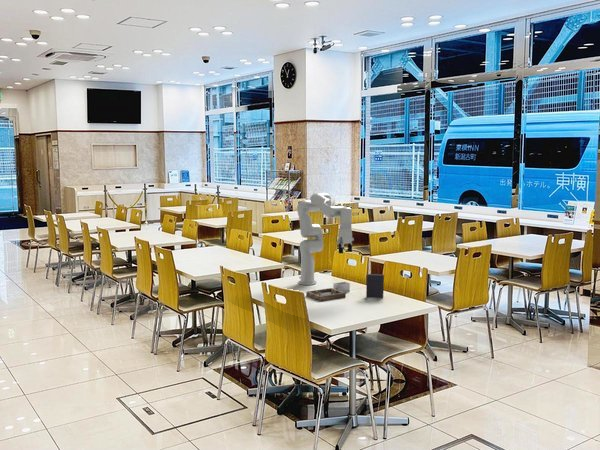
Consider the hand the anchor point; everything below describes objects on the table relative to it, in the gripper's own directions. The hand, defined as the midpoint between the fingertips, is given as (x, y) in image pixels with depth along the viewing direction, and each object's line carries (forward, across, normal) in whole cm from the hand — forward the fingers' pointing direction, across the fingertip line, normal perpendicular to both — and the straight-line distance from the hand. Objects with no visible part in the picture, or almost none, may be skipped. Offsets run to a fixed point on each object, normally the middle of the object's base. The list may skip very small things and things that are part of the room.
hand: (345, 252), depth 379 cm
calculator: (+29, -11, +16) cm, 35 cm away
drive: (+29, -8, -8) cm, 31 cm away
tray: (+29, +10, -8) cm, 32 cm away
